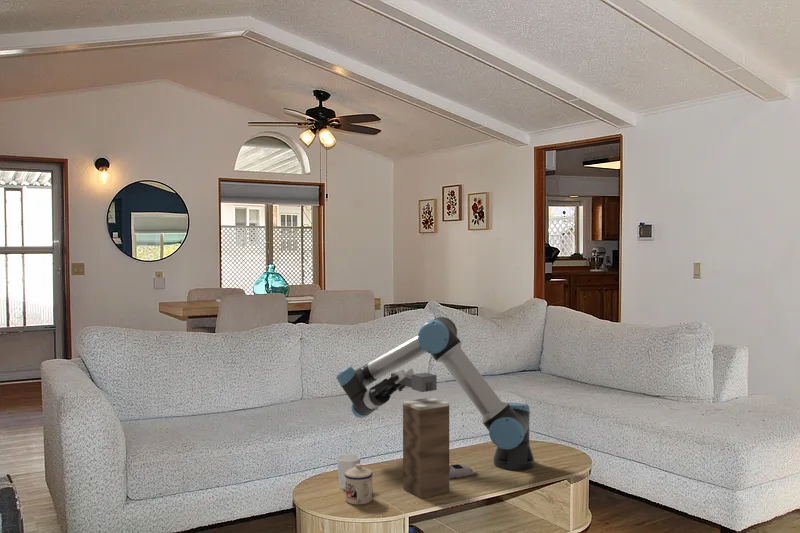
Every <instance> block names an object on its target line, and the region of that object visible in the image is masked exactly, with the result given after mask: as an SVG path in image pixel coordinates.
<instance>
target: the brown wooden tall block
mask: <svg viewBox="0 0 800 533" xmlns="http://www.w3.org/2000/svg"><path fill="white" fill-rule="evenodd" d="M449 466H450V402H449V401H445V400H441V399H438V398H435V397H426V398H425V397H424V398H418V399H412V400H405V401H402V476H403V477H402V482H403V483H402V490H403V491H404V492H406V493H408V494H411V495H412V496H414V497H416V498H418V499H420V500H421V499H426V498H429V497H433V496H437V495H441V494H445V493H449V492H450V478H449Z"/></svg>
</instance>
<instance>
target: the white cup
mask: <svg viewBox="0 0 800 533" xmlns="http://www.w3.org/2000/svg"><path fill="white" fill-rule="evenodd" d="M336 459H337V476H338V487H339V488H340V489H341V490H344V491H345V472H346V471H347V470H349V469H352V468H354V467H355V465H356V464H361V456H359V455H357V454H341V455H339V456H338V457H337V458H336Z"/></svg>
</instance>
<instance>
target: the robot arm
mask: <svg viewBox="0 0 800 533" xmlns="http://www.w3.org/2000/svg"><path fill="white" fill-rule="evenodd" d="M426 353H428V354H430V355H431V356H432V358H433V359H434V361H435V362H436V363H437V362H438V363H442V365H443V366H444V368H446V369H447V371H448V372H449V374H450V375H451V376H452V378H453V379H454V380H455V382H457V384H458V385H459V387H460V388H461V389H462V390H463V392H464V393H465V395H466V396H467V397H468V399H469V400H470V401H471V402H472V403H473V405H474V406H475V408H476V409H477V410H478V412H479V413H480V415H481V417H482V422H481V423H482V424H483V425H484V427H485V428H486V429H487V431H488V432H489V433H488V434H489V438H490V440H491V442H492V443H493V444H494V446H496V449H495V452H494V454H493V465H494V466H496V467H497V468H501V469H504V470H511V471H513V470H514V471H521V470H528V469H531V468H533V467H534V466H535V458H534V454H533V451H532V448H531V445H530V444H531V443H530V414H531V412H530V405H528V404H527V403H521V402H505V401H502V400H501V399H500V398H499V396H498V395H497V393H496V392H495V391H494V389H492V387H491V385H490V384H489V383H488V382H487V380H486V379H485V378H484V376H483V375H482V374H481V373H480V372H479V370H478V369H477V368H476V366H475V365H474V364H473V363H472V361H471V359H470V358H469V356H467V354H466V353H465V352H464V350H463V349H462V341H461V340H460V339H459V337H458V328H457V326H456V324H455V322H453V320H452V319H450V318H447V317H444V316H443V317H442V316H439V317H435V318H433V319H429V320H427V321H426V322H425V323H424V324H422V325H421V326H420V328H419V331H418V334H417V335H415V336H414V337H411V338H409V340H407V341H405V342H403V343H401V344H400V345H397V346H396V347H394V348H393V349H391V350H389V351H387V352H386V353H384V354H382V355H380V356H378V357H377V358H375V359H372V361H370V362H368V363H366V364H364V365H363V366H360V367H359V368H357V369H354V368H353V367H352V366H348V367H346V368H344V369H343V370H342V371H340V372H339V373H338V374H336V377H335V378H336V380H337V381H338V383H339V386H340V387H341V388H342V389H343V391H344V392H345V394H346V395H347V397H348V398H349V400H350V402H351V406H350V407H351V412H352V415H354V416H355V417H357V418H360V419H362V418H366V417H368V416H369V415H371V414H373V413H374V412H375V411H377V410H378V409H379V408H380V407H381V406H383V405H385V404H386V403H387V402H389V400H390V398H391V396H392V395H393V394H394V393H395V392H396V391H398V392H402V391H403V389H405V388H406V387H407V386H405V385H401V384H398V383H399V382H400V381H401V380H403V379H404V378H405V377H406V375H410V376H412V374H415V372H414V369H413V368H410V369H409V370H407V371H406V372H405V370H404V369H401V370H400V371H399V373H397V374H396V375H395V376H393V377H391V376H390V377H389V378H384V379H383V380H381V381H379V383H376V384H374V385H373V386H372V387H370V388H369V389H367V386H369V385H371V384H372V383H374V382H376V381H378V380H379V379H381V378H383V377H385V376H386V375H388V374H391V373H393V372H394V371H395V370H398V369H400V368H401V367H403V366H405V365H406V364H408V363H410V362H412V361H413V360H416V359H417V358H419V357H421V356H422V355H425V354H426ZM405 374H406V375H405ZM394 382H395V383H394Z"/></svg>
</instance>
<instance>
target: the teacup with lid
mask: <svg viewBox="0 0 800 533" xmlns="http://www.w3.org/2000/svg"><path fill="white" fill-rule="evenodd" d="M373 475H374V474H373V472H372V470H371V469H370V468H366V467H364V466H362V464H361V463H360V464H356V465H355V467H354V468H352V469H349V470H347V471H346V472H345V490H344V491H345V492H344V493H345V496H344V498H345V501H346V502H347V503H348V504H350V505H357V506H358V505H365V504H369V503H370V502H371V501H372V500H373Z"/></svg>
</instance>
